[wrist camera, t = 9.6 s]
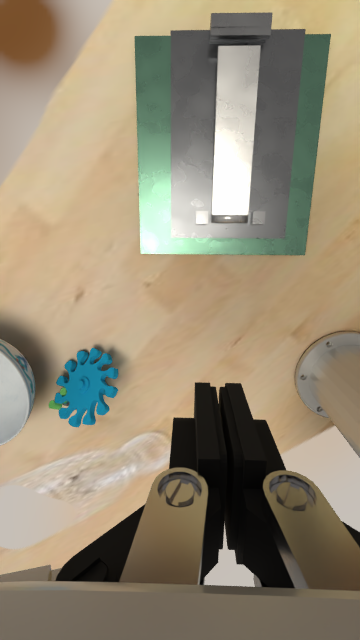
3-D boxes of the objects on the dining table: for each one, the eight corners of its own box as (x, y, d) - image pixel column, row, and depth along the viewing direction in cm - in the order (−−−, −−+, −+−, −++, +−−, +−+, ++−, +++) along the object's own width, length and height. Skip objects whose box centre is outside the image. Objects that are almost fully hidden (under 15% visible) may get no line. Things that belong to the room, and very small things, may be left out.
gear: (106, 334, 40) (117, 410, 35) (132, 347, 44) (145, 415, 40) (44, 366, 43) (45, 440, 38) (75, 375, 48) (80, 441, 43)
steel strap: (258, 50, 27) (260, 44, 26) (246, 223, 32) (247, 223, 31) (217, 51, 27) (218, 45, 26) (211, 222, 32) (211, 223, 31)
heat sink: (328, 37, 32) (369, -20, 24) (303, 254, 38) (329, 260, 31) (135, 39, 32) (120, -16, 25) (141, 253, 38) (130, 258, 31)
